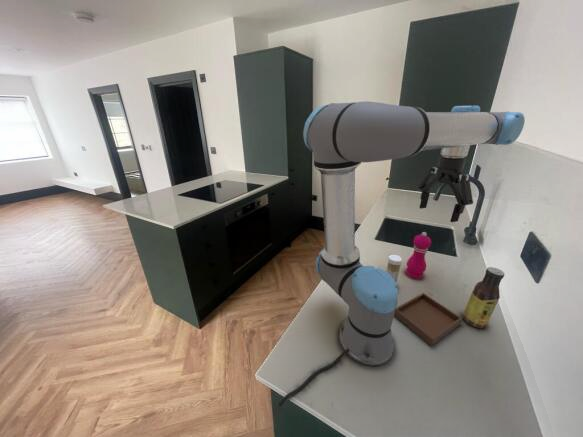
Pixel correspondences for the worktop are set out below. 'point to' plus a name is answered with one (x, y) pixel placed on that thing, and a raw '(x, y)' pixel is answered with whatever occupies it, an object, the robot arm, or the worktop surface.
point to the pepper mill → (418, 256)
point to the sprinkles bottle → (394, 266)
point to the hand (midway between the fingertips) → (437, 214)
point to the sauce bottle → (483, 299)
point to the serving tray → (427, 318)
